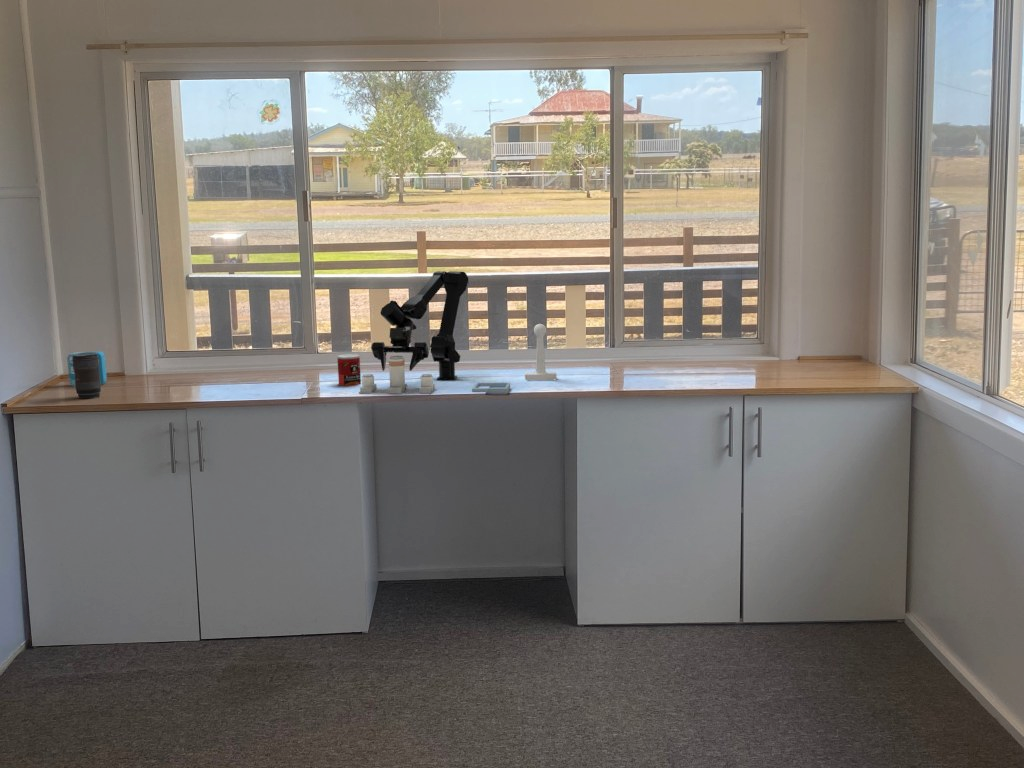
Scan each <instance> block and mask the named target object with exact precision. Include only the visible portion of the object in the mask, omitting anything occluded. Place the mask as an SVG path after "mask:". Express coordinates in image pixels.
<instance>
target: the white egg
mask: <svg viewBox="0 0 1024 768" xmlns="http://www.w3.org/2000/svg"><path fill="white" fill-rule="evenodd" d="M374 384H375V376H374V374H371V373H367V374H366V373H365V374H362V375H361V385H362V386H361V387H372V392H374V391H375V388H374Z"/></svg>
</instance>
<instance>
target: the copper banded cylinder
mask: <svg viewBox="0 0 1024 768" xmlns="http://www.w3.org/2000/svg"><path fill="white" fill-rule="evenodd" d="M405 362H406V361H405V357H404V356H403V355H394V356H393V355H392V356H389V358H388V368H389V370H388V371H389V387H402V392H405V384H406V377H405V373H406V372H405V365H406V363H405Z"/></svg>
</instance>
